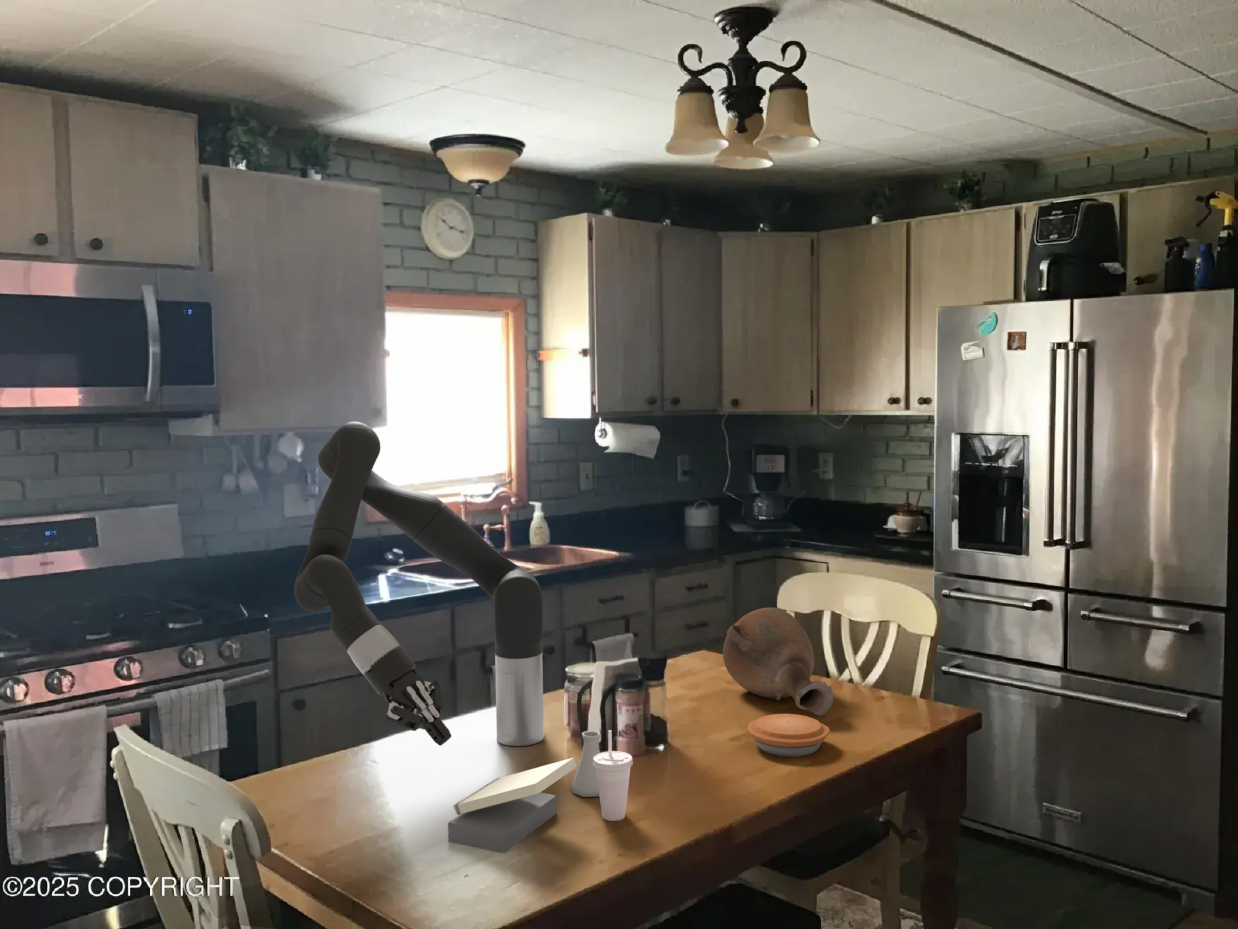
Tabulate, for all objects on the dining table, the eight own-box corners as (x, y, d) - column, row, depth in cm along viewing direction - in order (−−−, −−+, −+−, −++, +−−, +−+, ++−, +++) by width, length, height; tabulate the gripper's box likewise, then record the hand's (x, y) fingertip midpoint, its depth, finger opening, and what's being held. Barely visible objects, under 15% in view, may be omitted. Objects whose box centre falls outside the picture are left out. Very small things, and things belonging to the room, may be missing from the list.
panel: (495, 778, 174) (574, 757, 167) (498, 788, 173) (577, 766, 166) (452, 805, 163) (535, 783, 156) (456, 815, 163) (538, 793, 156)
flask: (564, 786, 183) (563, 730, 182) (603, 780, 186) (602, 724, 185) (580, 801, 176) (579, 743, 175) (619, 794, 179) (618, 736, 178)
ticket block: (504, 803, 175) (503, 786, 175) (556, 813, 171) (556, 795, 171) (448, 841, 161) (447, 822, 161) (503, 853, 157) (503, 833, 157)
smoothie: (611, 805, 174) (610, 722, 173) (641, 814, 170) (640, 730, 169) (585, 817, 169) (584, 732, 168) (616, 828, 165) (615, 740, 164)
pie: (794, 767, 191) (794, 740, 190) (730, 746, 202) (730, 721, 202) (846, 747, 201) (846, 722, 200) (782, 728, 212) (782, 704, 212)
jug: (716, 684, 243) (776, 747, 216) (705, 608, 237) (766, 662, 210) (793, 659, 249) (862, 717, 221) (785, 584, 243) (854, 634, 216)
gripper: (393, 658, 182) (455, 737, 179) (343, 686, 170) (409, 771, 167) (417, 633, 179) (481, 713, 176) (368, 660, 167) (435, 746, 164)
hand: (445, 741), depth 172 cm, fingers closed
